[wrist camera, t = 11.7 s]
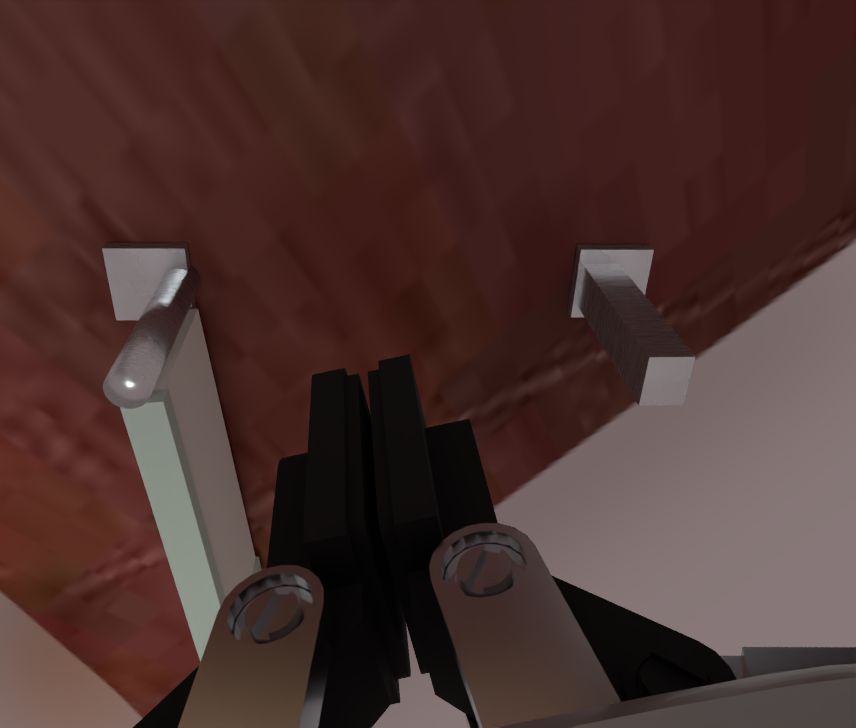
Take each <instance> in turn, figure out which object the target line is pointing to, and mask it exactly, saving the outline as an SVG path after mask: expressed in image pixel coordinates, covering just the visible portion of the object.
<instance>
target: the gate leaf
mask: <svg viewBox="0 0 856 728" xmlns="http://www.w3.org/2000/svg"><path fill="white" fill-rule="evenodd" d="M120 409H121V412H122V415H123V419H124V422H125V425H126V428H127V431H128V434H129V437H130V441H131V444H132V447H133V450H134V453H135V456H136V460H137V463H138V466H139V469H140V472H141V475H142V479H143V482H144V485H145V488H146V491H147V494H148V498H149V501H150V504H151V507H152V510H153V513H154V517H155V520H156V523H157V526H158V529H159V532H160V536H161V539H162V542H163V545H164V548H165V551H166V555H167V558H168V561H169V564H170V567H171V570H172V573H173V577H174V580H175V583H176V586H177V589H178V592H179V596H180V599H181V602H182V605H183V608H184V611H185V615H186V618H187V621H188V624H189V627H190V630H191V634H192V637H193V640H194V643H195V646H196V649H197V653H198V656H199V659H200V662H201V659H202V656H203V653H204V651H205V648H206V645H207V642H208V639H209V636H210V633H211V630H212V628H213V625H214V622H215V619H216V616H217V613H218V611H219V609H220V607H221V605H222V603H223V601H224V599H225V598H226V597H227V595H228V594H229V593H230V592H231V591H232V590H233V589H234V588H235V587H236V585H238V584H239V583H241V582H242V581H243V580H245V579H246V578H247V577H249V576H250V575H252V574H255V573H257V572H259V571H261V570H262V569H261V565H260V561H259V557H255V553H254V548H253V544H252V540H251V535H250V531H249V527H248V522H247V518H246V514H245V510H244V505H243V501H242V497H241V492H240V488H239V484H238V479H237V475H236V471H235V466H234V462H233V458H232V453H231V449H230V445H229V441H228V436H227V432H226V428H225V423H224V419H223V415H222V410H221V406H220V402H219V397H218V393H217V389H216V385H215V380H214V376H213V372H212V367H211V363H210V359H209V354H208V350H207V346H206V341H205V337H204V333H203V328H202V324H201V320H200V316H199V311H198V308H197V309H189V310H188V312H187V315H186V317H185V319H184V321H183V324H182V326H181V328H180V330H179V333H178V335H177V337H176V339H175V342H174V344H173V346H172V348H171V351H170V353H169V355H168V357H167V360H166V362H165V364H164V366H163V369H162V371H161V373H160V375H159V378H158V380H157V382H156V384H155V387H154V389H153V391H152V393H151V396H150V398H149V400H148V401H147V402H146V403H145V404H144V405H143V406H141V407H139V408H135V409H125V408H121V407H120Z"/></svg>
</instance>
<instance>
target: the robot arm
mask: <svg viewBox="0 0 856 728" xmlns="http://www.w3.org/2000/svg"><path fill="white" fill-rule="evenodd" d="M368 383H369V398H370V412H371V416H370V412H369V409H368V405H367V401H366V398H365V394H364V390H363V386H362V383H361V379H360V376H359V374H355V375H350V376H348V375H347V372H346V370H345V368H343V369H338V370H333V371H328V372H323V373H319V374H314V375H312V386H311V404H310V421H309V439H308V453H304V454H299V455H295V456H290V457H285V458H281V460H280V461H279V465H278V472H277V481H276V490H275V499H274V508H273V517H272V526H271V535H270V544H269V553H268V562H267V568H266V569H264V570H261V571H259V572H257V573H255V574H252V575H250V576H249V577H247V578H246V579H245V580H243V581H242V582H241V583H239V584H238V585H236V587H235V588H234V589H233V590H232V591H231V592H230V593H229V594H228V595H227V597H226V598H225V599H224V601H223V603H222V605H221V607H220V609H219V611H218V613H217V616H216V619H215V622H214V625H213V628H212V630H211V633H210V636H209V639H208V642H207V645H206V648H205V651H204V653H203V656H202V659H201V662H200V665H199V666H198V667H197V668H196V669H195V670H194V671H193V672H192V673H191V674H190V675H189V676H188V677H187V678H186V679H184V680H183V681H182V682H181V683H180V684H179V685H178V686H177V687H176V688H175V689H174V690H173V691H172V692H171V693H169V694H168V695H167V696H166V697H165V698H164V699H163V700H162V701H161V702H160V703H159V704H158V705H157V706H156V707H155V708H153V709H152V710H151V711H150V712H149V713H148V714H147V715H146V716H145V717H144V718H143V719H142V720H141V721H140V722H139V723H137V724H136V725H135V726H134V727H133V728H375V727H374V724H375V723H376V721H377V720H378V719H379V718H380V717H381V715H382V714H383V713H384V712H385V711H386V709H387V708H388V707H389V705H391V704H395V703H400V693H399V682H398V679H401V678H406V677H410V675H411V671H410V660H409V650H408V641H407V631H406V624H407V627H408V631H409V634H410V638H411V641H412V644H413V648H414V651H415V655H416V658H417V662H418V665H419V669H420V672H421V674H425V673H430V677H431V681H432V684H433V688H434V692H435V695H437V696H438V697H440V698H442V699H443V700H445V701H446V702H448V703H450V704H451V705H453V706H454V707H456V708H457V709H459V710H461V711H462V712H464V713H465V717H466V721H467V725H468V728H856V647H742V653H741V656H719V655H718V654H717V653H716V652H715V651H714V650H712V649H710V648H709V647H707V646H705V645H704V644H702V643H700V642H699V641H697V640H694V639H692V638H690V637H687V636H686V635H683V634H681V633H679V632H677V631H674V630H672V629H670V628H667V627H666V626H663V625H661V624H659V623H657V622H654V621H652V620H650V619H647V618H645V617H643V616H641V615H638V614H636V613H634V612H632V611H630V610H627V609H625V608H623V607H621V606H618V605H616V604H614V603H612V602H609V601H607V600H605V599H603V598H601V597H598V596H596V595H594V594H592V593H589V592H587V591H585V590H583V589H580V588H578V587H576V586H574V585H571V584H569V583H567V582H565V581H563V580H560V579H558V578H555V577H554V576H552V575H551V574H550V572H549V570H548V568H547V566H546V565H545V563H544V561H543V559H542V557H541V556H540V554H539V552H538V550H537V548H536V546H535V545H534V544H533V542H532V541H531V540H530V539H529V538H528V536H527V535H526V534H524V533H522V532H521V531H519V530H517V529H516V528H514V527H511V526H507V525H503V524H500V523H497V519H496V515H495V512H494V508H493V504H492V501H491V497H490V493H489V490H488V486H487V482H486V479H485V475H484V471H483V468H482V464H481V460H480V456H479V453H478V449H477V445H476V442H475V438H474V434H473V431H472V427H471V424H470V420H469V419H466V420H462V421H457V422H452V423H447V424H442V425H438V426H433V427H428V428H426V425H425V420H424V416H423V411H422V407H421V402H420V398H419V393H418V389H417V384H416V380H415V375H414V371H413V366H412V362H411V358H410V354H409V355H405V356H400V357H395V358H390V359H385V360H381V361H379V370H374V371H369V372H368Z"/></svg>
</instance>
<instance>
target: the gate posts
mask: <svg viewBox="0 0 856 728" xmlns="http://www.w3.org/2000/svg"><path fill="white" fill-rule="evenodd" d="M102 250H103V255H104V260H105V266H106V271H107V276H108V281H109V286H110V291H111V296H112V301H113V306H114V311H115V316H116V320H138V322H137V324H136V325H135V327H134V329H133V331H132V333H131V334H130V336H129V338H128V340H127V341H126V343H125V345H124V347H123V348H122V350H121V352H120V354H119V355H118V357H117V359H116V361H115V363H114V364H113V366H112V368H111V370H110V371H109V373H108V375H107V377H106V378H105V380H104V383H103V391H104V394H105V396H106V397H107V399H108V400H109V401H110V402H112V403H113V404H114V405H116V406H118V407H121V408H125V409H135V408H139V407H141V406H143V405H144V404H145V403H146V402H147V401H148V400H149V398H150V396H151V393H152V391H153V389H154V387H155V384H156V382H157V380H158V378H159V375H160V373H161V371H162V369H163V366H164V364H165V362H166V360H167V357H168V355H169V353H170V351H171V348H172V346H173V344H174V342H175V339H176V337H177V335H178V333H179V330H180V328H181V326H182V324H183V321H184V319H185V317H186V315H187V312H188V310H189V309H196V302H195V295H196V292H197V290H198V288H199V285H200V276H199V274H198V272H197V271H196V269H194V268H193V267H192V266H191V264H190V257H189V250H188V243H106V244H105V246H104V247H103V248H102ZM653 252H654V249H653V248H652V247H651V246H650V245H644V244H577V249H576V256H575V262H574V269H573V276H572V283H571V290H570V296H569V303H568V310H567V311H568V313H569V315H570V316H571V317H585V319H586V321H587V322H588V324H589V325H590V327H591V329H592V330H593V332H594V334H595V335H596V337H597V338H598V340H599V342H600V343H601V345H602V347H603V348H604V350H605V351H606V353H607V355H608V356H609V358H610V360H611V361H612V363H613V364H614V366H615V368H616V369H617V371H618V373H619V374H620V376H621V377H622V379H623V381H624V382H625V384H626V386H627V387H628V389H629V390H630V392H631V394H632V395H633V397H634V398H635V400H636V402H637V403H638V405H639V406H644V405H645V406H646V405H683V404H684V400H685V397H686V393H687V389H688V385H689V381H690V377H691V373H692V368H693V365H694V361H695V356H694V354H693V353H692V352H691V351H690V349H689V348H688V347H687V346H686V345H685V343H684V342H683V341H682V340H681V339H680V337H679V336H678V335H677V334H676V332H675V331H674V330H673V329H672V328H671V326H670V325H669V324H668V323H667V322H666V320H665V319H664V318H663V317H662V315H661V314H660V313H659V312H658V311H657V309H656V308H655V307H654V306H653V305H652V303H651V302H650V301H649V300H648V299H647V297H646V296H645V291H646V286H647V281H648V277H649V272H650V267H651V262H652V257H653Z"/></svg>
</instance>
